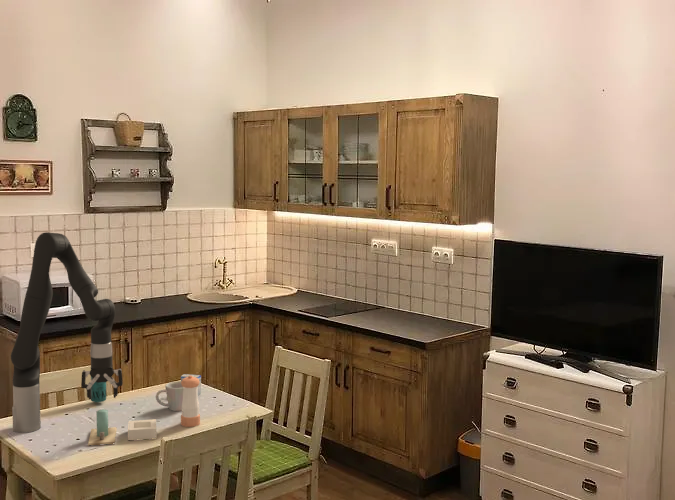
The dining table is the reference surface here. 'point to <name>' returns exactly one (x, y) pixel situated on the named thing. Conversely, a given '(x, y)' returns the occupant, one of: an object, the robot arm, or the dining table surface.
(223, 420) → the dining table surface
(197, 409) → the pepper shaker
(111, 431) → the board
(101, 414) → the pin
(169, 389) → the mug
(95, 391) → the beverage bottle
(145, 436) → the socket block
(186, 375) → the medicine box
